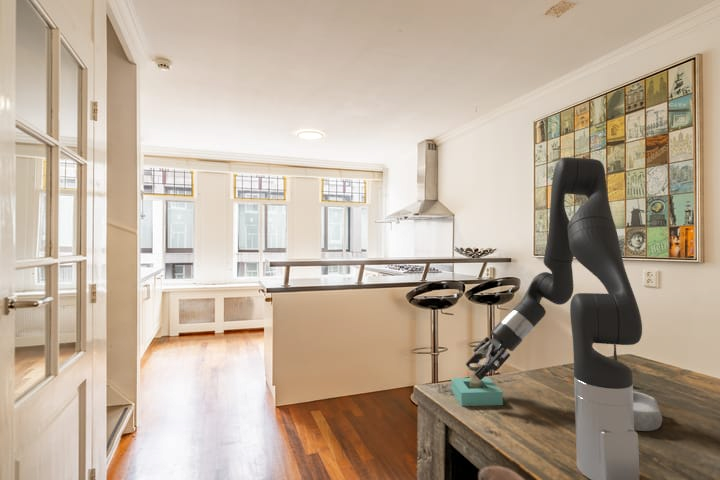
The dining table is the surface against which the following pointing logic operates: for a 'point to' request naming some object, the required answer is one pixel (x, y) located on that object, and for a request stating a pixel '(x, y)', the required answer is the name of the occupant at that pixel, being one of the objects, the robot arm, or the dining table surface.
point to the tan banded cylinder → (474, 376)
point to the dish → (646, 412)
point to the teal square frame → (476, 392)
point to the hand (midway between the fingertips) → (472, 372)
